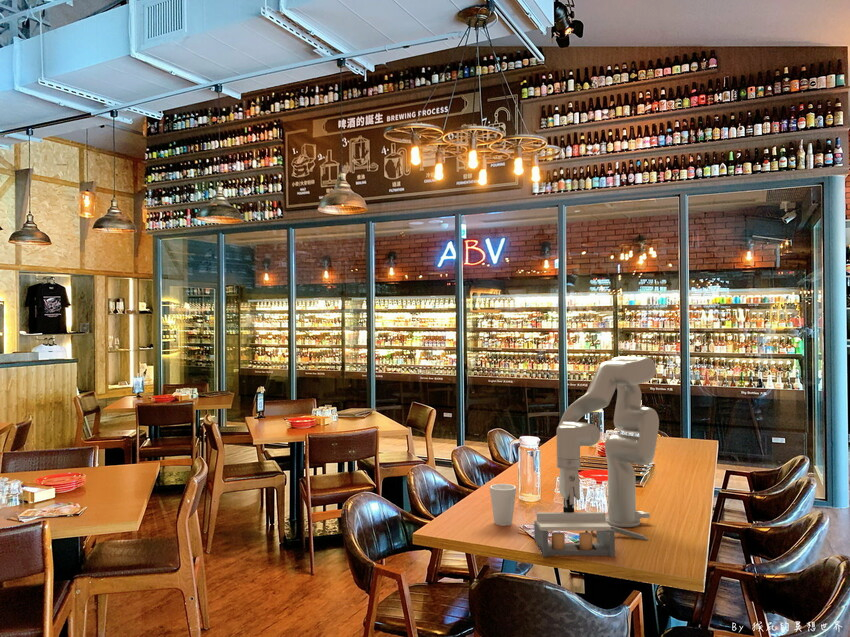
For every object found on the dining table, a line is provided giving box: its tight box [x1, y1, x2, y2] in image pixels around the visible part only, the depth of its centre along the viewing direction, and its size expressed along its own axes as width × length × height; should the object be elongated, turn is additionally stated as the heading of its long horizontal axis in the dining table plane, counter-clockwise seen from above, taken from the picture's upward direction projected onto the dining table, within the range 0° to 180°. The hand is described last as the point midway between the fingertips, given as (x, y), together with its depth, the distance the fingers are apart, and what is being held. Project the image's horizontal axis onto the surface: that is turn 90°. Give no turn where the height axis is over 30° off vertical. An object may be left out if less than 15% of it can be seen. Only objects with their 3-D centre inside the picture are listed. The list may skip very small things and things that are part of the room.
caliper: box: [585, 524, 649, 541], centre depth 212 cm, size 20×1×6 cm, turn 66°
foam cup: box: [489, 483, 517, 527], centre depth 227 cm, size 10×9×13 cm
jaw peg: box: [578, 532, 593, 550], centre depth 197 cm, size 4×4×6 cm
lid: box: [536, 511, 612, 532], centre depth 200 cm, size 22×7×4 cm, turn 90°
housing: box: [533, 520, 616, 558], centre depth 201 cm, size 22×15×8 cm
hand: (568, 519), depth 206 cm, fingers closed
